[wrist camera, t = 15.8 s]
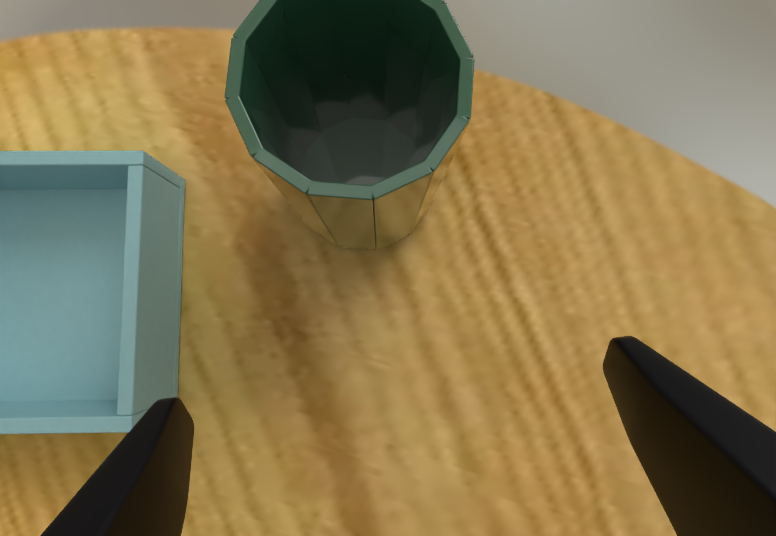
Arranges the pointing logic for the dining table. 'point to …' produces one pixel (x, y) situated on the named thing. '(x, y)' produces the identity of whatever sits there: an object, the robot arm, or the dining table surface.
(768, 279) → the dining table surface
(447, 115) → the cup
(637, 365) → the robot arm
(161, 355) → the bin
